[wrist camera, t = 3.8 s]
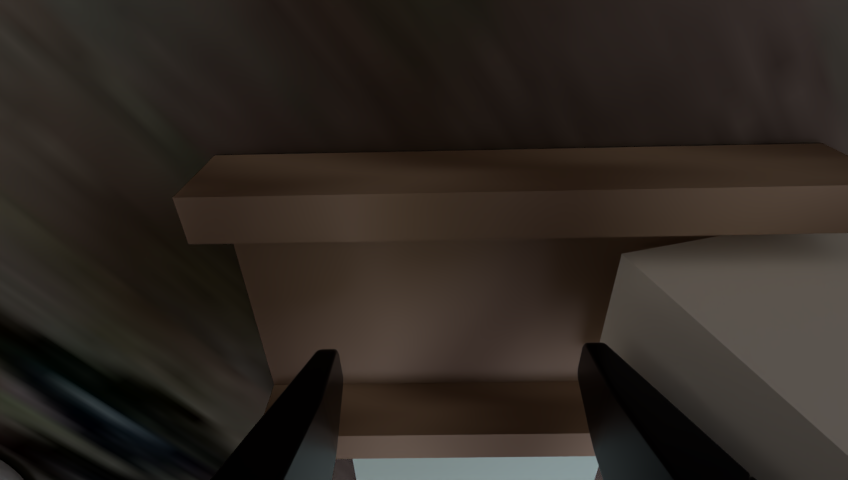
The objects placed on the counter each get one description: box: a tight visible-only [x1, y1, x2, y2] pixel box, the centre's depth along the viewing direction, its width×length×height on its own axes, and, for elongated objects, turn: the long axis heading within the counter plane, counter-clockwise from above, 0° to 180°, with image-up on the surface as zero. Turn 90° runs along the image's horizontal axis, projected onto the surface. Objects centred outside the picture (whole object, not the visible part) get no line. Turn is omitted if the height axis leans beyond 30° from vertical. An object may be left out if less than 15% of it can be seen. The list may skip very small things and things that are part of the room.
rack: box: [172, 143, 848, 459], centre depth 11 cm, size 13×8×2 cm, turn 91°
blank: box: [600, 233, 848, 480], centre depth 9 cm, size 6×4×5 cm, turn 91°
